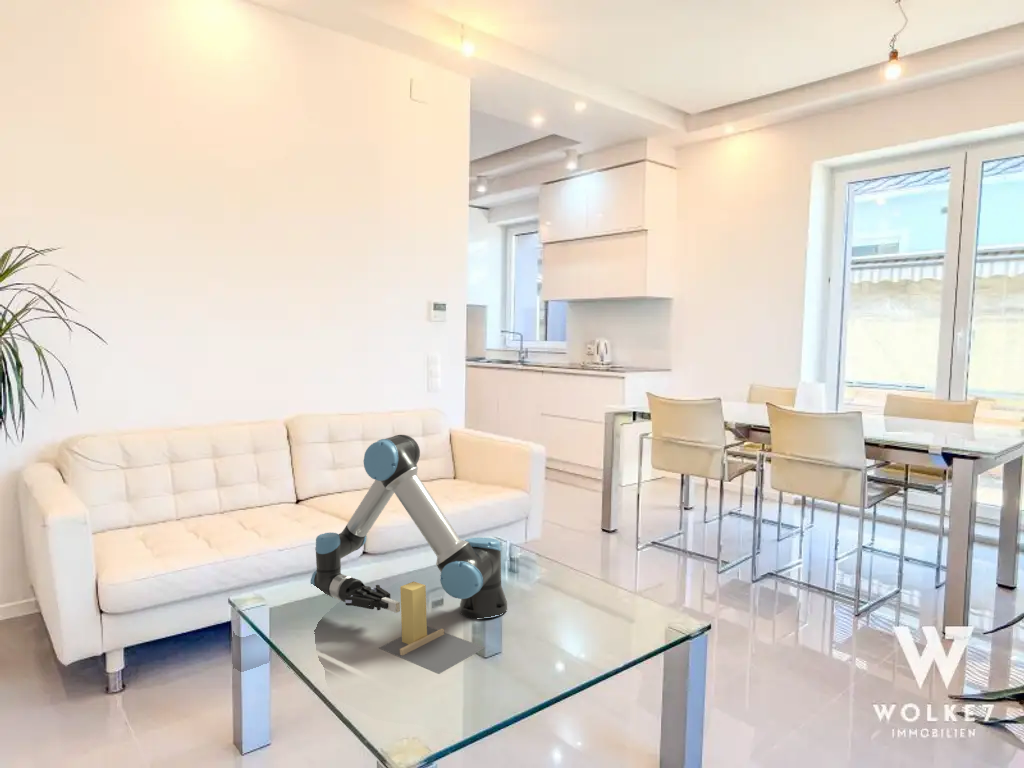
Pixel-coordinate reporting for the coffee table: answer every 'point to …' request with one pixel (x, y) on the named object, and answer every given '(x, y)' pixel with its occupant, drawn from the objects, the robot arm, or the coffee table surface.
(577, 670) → the coffee table surface
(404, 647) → the tipping mat
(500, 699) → the coffee table surface
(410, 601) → the mustard block
